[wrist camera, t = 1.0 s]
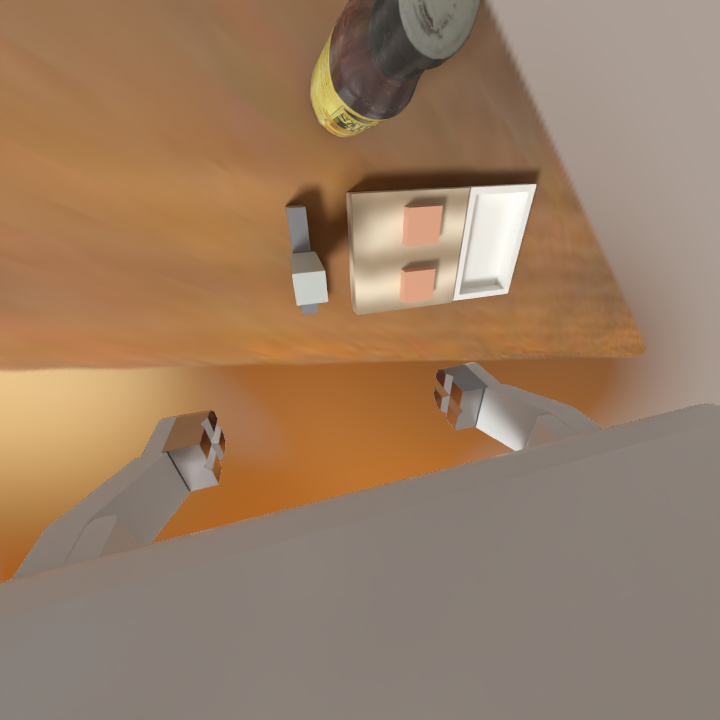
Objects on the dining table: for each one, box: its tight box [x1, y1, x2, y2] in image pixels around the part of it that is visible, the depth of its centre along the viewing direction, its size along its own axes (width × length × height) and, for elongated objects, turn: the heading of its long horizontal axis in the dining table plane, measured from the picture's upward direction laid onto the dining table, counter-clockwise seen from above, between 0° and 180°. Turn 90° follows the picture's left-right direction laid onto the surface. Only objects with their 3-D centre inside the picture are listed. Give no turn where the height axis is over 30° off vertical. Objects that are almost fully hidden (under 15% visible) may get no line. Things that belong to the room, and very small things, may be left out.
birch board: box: [346, 187, 470, 315], centre depth 37 cm, size 14×14×3 cm
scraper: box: [286, 205, 328, 315], centre depth 31 cm, size 12×3×11 cm, turn 2°
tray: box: [452, 184, 537, 301], centre depth 39 cm, size 14×9×2 cm, turn 2°
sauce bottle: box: [310, 0, 480, 137], centre depth 20 cm, size 7×6×20 cm
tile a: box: [402, 205, 443, 247], centre depth 33 cm, size 4×4×2 cm
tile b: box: [400, 266, 435, 303], centre depth 37 cm, size 4×4×2 cm
